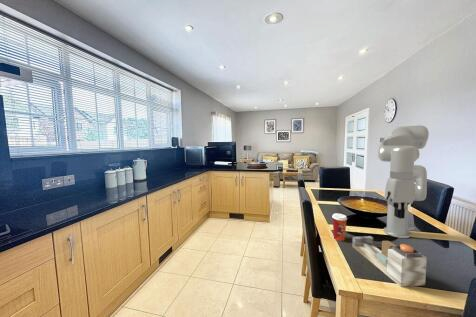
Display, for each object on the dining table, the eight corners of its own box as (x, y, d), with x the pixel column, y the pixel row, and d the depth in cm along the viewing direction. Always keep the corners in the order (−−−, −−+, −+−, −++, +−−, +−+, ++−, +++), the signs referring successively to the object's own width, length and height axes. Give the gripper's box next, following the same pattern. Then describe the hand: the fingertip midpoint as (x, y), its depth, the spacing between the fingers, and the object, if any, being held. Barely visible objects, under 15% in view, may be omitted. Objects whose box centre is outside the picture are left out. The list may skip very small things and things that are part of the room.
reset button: (406, 249, 77) (406, 243, 77) (416, 255, 73) (416, 249, 73) (397, 249, 77) (397, 244, 77) (406, 255, 73) (406, 249, 73)
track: (370, 245, 101) (371, 222, 100) (425, 285, 73) (427, 253, 72) (352, 246, 101) (353, 223, 100) (400, 286, 72) (402, 254, 71)
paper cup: (341, 243, 104) (341, 219, 103) (328, 237, 111) (329, 214, 110) (349, 239, 108) (350, 216, 107) (337, 234, 115) (337, 212, 114)
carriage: (390, 259, 87) (391, 239, 86) (400, 266, 82) (401, 245, 81) (376, 259, 86) (377, 240, 86) (385, 267, 81) (386, 246, 81)
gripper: (409, 173, 84) (407, 213, 85) (377, 175, 83) (375, 214, 85) (427, 176, 76) (424, 219, 78) (392, 178, 75) (390, 222, 77)
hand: (399, 217), depth 81 cm, fingers closed
